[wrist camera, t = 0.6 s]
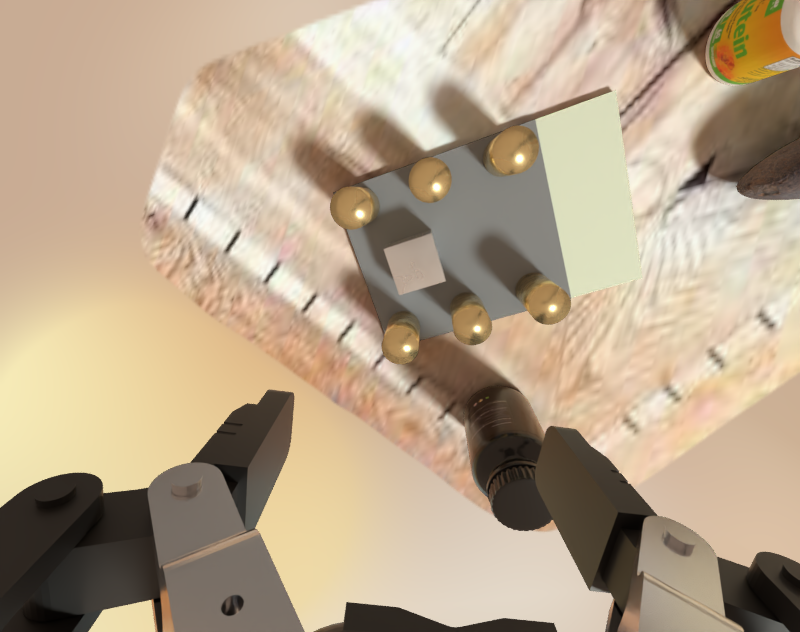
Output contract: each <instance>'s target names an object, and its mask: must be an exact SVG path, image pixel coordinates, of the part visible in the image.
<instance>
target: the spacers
mask: <svg viewBox="0 0 800 632" xmlns="http://www.w3.org/2000/svg"><path fill="white" fill-rule="evenodd" d="M538 152H539V142H538V139H537V137H536V135H535V133H534V132H533V131H532V130H531V129H529V128H527V127H525V126H512V127H509V128H507V129H506V130H504V131H503V132H502V133H500V134H499V135H498V136H497V137H496V138H494V139H493V140H492V141H491V142H490V143H489V144H488V145H487V146H486V148H485V150H484V154H483V163H484V166H485V168H486V170H487V171H488V172H489V173H490V174H492V175H494V176H497V177H504V176H510V175H515V174H519V173H522V172H524V171H526V170H528V169H529V168H530V167H531V166H532V165H533V164H534V162H535V161H536V159H537V156H538ZM451 183H452V176H451V172H450V170H449V168H448V166H447V165H446V164H445V163H444V162H443V161H442V160H440V159H438V158H433V157H428V158H424V159H422V160H420V161H418V162H417V163H416V164H415V165H414V166H413V168H412V169H411V171H410V174H409V187H410V190H411V192H412V194H413V195H414V196H415V197H416V198H417V199H418V200H420V201H422V202H425V203H434V202H437V201H439V200H441V199H443V198H444V197H445V196H446V195H447V193H448V192H449V190H450V187H451ZM379 210H380V203H379V199H378V197H377V195H376V194H375V193H374V192H373V191H372V190H370V189H368V188H364V187H344V188H342V189H340V190H338V191H337V192H336V193H335V194H334V196H333V197H332V200H331V203H330V211H331V215H332V217H333V219H334V221H335V222H336V223H337V224H338V225H339V226H341V227H342V228H345V229H349V230H354V229H358V228H361V227H362V226H364V225H366V224H368V223H370V222H372V221H373V220H374V219H375V218H376V217H377V215H378V213H379ZM515 292H516V296H517V298H518V300H519V301H520V302H521V303H522V305H523V306H524V307H525V308H526V309H527V311H528V312H529V313H530V314H531V315H532V317H533V318H534V319H535V320H536V321H538V322H539V323H542V324H548V325H549V324H555V323H558V322H560V321H561V320H563V319H564V318H565V317H566V316H567V314H568V313H569V310H570V307H571V300H570V297H569V295H568V294H567V292H566V291H564V290H563V289H562V288H560V287H559V286H558V285H556V284H555V283H554V282H552V281H551V280H550V279H548V278H547V277H545V276H544V275H542V274H540V273H529V274H526V275H524V276H523V277H522V278H521V279H520V280H519V281H518V283H517V285H516V289H515ZM450 313H451V319H452V325H453V330H454V334H455V336H456V337H457V339H458V340H459V341H461V342H462V343H464V344H467V345H477V344H480V343H482V342H484V341H485V340H486V339H487V338H488V337H489V335H490V334H491V331H492V322H491V320H490V317H489V315H488V313H487V311H486V309H485V307H484V305H483V303H482V301H481V299H480V298H479V297H478V296H477V295H475V294H473V293H469V292H466V293H461V294H459V295H457V296H456V297H455V298H454V299H453V300H452V302H451V305H450ZM419 335H420V323H419V320H418V318H417V317H416V316H415V315H414V314H412V313H410V312H408V311H400V312H397V313H395V314H394V315H393V316H392V317H391V318H390V320H389V322H388V326H387V329H386V332H385V335H384V339H383V342H382V352H383V354H384V356H385V357H386V358H387V359H388V360H389V361H391V362H392V363H395V364H406V363H409V362H411V361H412V360H413V359H414V358H415V357H416V356H417V354H418V350H419Z"/></svg>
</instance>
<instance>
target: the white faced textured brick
mask: <svg viewBox="0 0 800 632" xmlns="http://www.w3.org/2000/svg"><path fill="white" fill-rule="evenodd" d="M384 252H385V255H386V258H387V261H388V264H389V267H390V270H391V273H392V276H393V279H394V281H395V284H396V287H397V290H398V293H399V295H402V294H405V293H409V292H412V291H415V290H419V289H422V288H425V287H428V286H432V285H435V284H438V283H442V282H445V281H446V279H445V274H444V270H443V267H442V264H441V260H440V257H439V254H438V250H437V247H436V244H435V240H434V237H433V233H432V230H429V231H426V232H423V233H420V234H417V235H414V236H410V237H407V238H404V239H401V240H398V241H395V242H392V243H389V244H387V245H386V247H385V248H384Z"/></svg>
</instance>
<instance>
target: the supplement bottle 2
mask: <svg viewBox="0 0 800 632" xmlns="http://www.w3.org/2000/svg"><path fill="white" fill-rule="evenodd" d="M705 58H706V64H707V67H708V70H709V72H710V73H711V75H712V76H713V77H714V78H715V79H716V80H717V81H719V82H721V83H723V84H726V85H732V86H738V85H745V84H749V83H752V82H756V81H759V80H762V79H765V78H768V77H771V76H774V75H777V74H780V73H783V72H786V71H789V70H792V69H795V68H797V67H800V0H741V1H740V2H738V3H737V4H735V5H734V6H733V7H731V8H730V9H729V10H728V11H726V12H725V13H724V14H723V15H722V16H721V18H720V19H719V20H718V21H717V23H716V24H715V26H714V27H713V29H712V31H711V33H710V35H709V38H708V41H707V45H706V52H705Z"/></svg>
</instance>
